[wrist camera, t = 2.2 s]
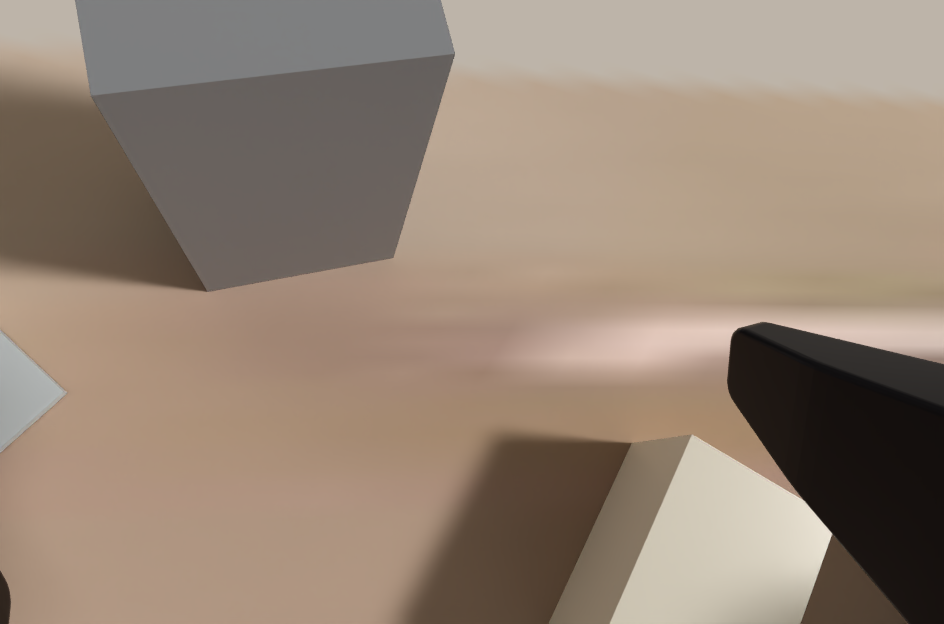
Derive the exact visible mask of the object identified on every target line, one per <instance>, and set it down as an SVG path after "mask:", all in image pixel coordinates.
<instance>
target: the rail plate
mask: <svg viewBox="0 0 944 624" xmlns="http://www.w3.org/2000/svg"><path fill="white" fill-rule="evenodd" d="M66 394H67V392H66V391H65V390H64V389H63V388H62V387H61V386H60V385H59V384H58V383H57V382H55V381H54V380H53V379H52V378H51V377H50V376H49V375H48V374H47V373H46V372H45V371H44V370H43V369H42V368H41V367H40V366H38V365H37V364H36V363H35V362H34V361H33V360H32V359H31V358H30V357H29V356H28V355H27V354H26V353H25V352H24V351H23V350H21V349H20V348H19V347H18V346H17V345H16V344H15V343H14V342H13V341H12V340H11V339H10V338H9V337H8V336H7V335H6V334H4V333H3V332H2V331H1V330H0V453H1V452H2V451H3V450H4V449H5V448H6V447H7V446H9V445H10V444H11V443H12V442H13V441H14V440H15V439H16V438H18V437H19V436H20V435H21V434H22V433H23V432H24V431H25V430H27V429H28V428H29V427H30V426H31V425H32V424H33V423H34V422H36V421H37V420H38V419H39V418H40V417H41V416H42V415H43V414H45V413H46V412H47V411H48V410H49V409H50V408H51V407H52V406H54V405H55V404H56V403H57V402H58V401H59V400H60V399H61V398H63V397H64V396H65V395H66Z"/></svg>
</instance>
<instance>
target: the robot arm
mask: <svg viewBox="0 0 944 624" xmlns="http://www.w3.org/2000/svg"><path fill="white" fill-rule="evenodd" d="M727 384H728V390H729V393H730V396H731V398H732V400H733V401H734V403H735V404H736V406H737V407H738V409H739V410H740V412H741V413H742V414H743V416H744V417H745V419H746V420H747V422H748V423H749V425H750V426H751V428H752V429H753V430H754V432H755V433H756V435H757V436H758V438H759V439H760V441H761V442H762V443H763V445H764V446H765V448H766V449H767V451H768V452H769V454H770V455H771V456H772V458H773V459H774V461H775V462H776V464H777V465H778V467H779V468H780V469H781V471H782V472H783V474H784V475H785V477H786V478H787V479H788V481H789V482H790V483H791V485H792V486H793V487H794V489H795V490H796V491H797V493H798V494H799V495H800V496H801V497H802V499H803V500H804V501H805V502H806V504H807V505H808V506H809V507H810V508H811V510H812V511H813V512H814V513H815V514H816V515H817V517H818V518H819V519H820V520H821V521H822V522H823V524H824V525H825V526H826V527H827V528H828V530H829V531H830V532H831V533H832V534H833V535H834V537H835V538H836V539H837V540H838V541H839V542H840V544H841V545H842V546H843V547H844V548H845V549H846V551H847V552H848V553H849V554H850V555H851V556H852V558H853V559H854V560H855V561H856V562H857V564H858V565H859V566H860V567H861V568H862V569H863V571H864V572H865V573H866V574H867V575H868V576H869V578H870V579H871V580H872V581H873V582H874V583H875V585H876V586H877V587H878V588H879V589H880V590H881V592H882V593H883V594H884V595H885V596H886V598H887V599H888V600H889V601H890V602H891V603H892V605H893V606H894V607H895V608H896V609H897V610H898V612H899V613H900V614H901V615H902V616H903V617H904V619H905V620H906V621H907V622H908V623H909V624H944V364H941V363H936V362H932V361H928V360H924V359H920V358H915V357H911V356H907V355H903V354H899V353H894V352H890V351H886V350H882V349H877V348H873V347H869V346H865V345H861V344H856V343H852V342H848V341H844V340H840V339H835V338H831V337H827V336H823V335H818V334H814V333H810V332H806V331H802V330H797V329H793V328H789V327H785V326H781V325H776V324H772V323H767V322H760V323H757V324H753V325H749V326H745V327H741V328H738V329H737V330H736V331H735V332H734V333H733V335H732V337H731V344H730V355H729V367H728V378H727ZM10 606H11V599H10V591H9V587H8V584H7V582H6V580H5V578H4V576H3V575H2V573H1V571H0V624H9V617H10Z"/></svg>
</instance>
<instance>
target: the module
mask: <svg viewBox="0 0 944 624" xmlns="http://www.w3.org/2000/svg"><path fill="white" fill-rule="evenodd" d="M75 2H76V8H77V14H78V20H79V26H80V32H81V39H82V45H83V51H84V57H85V63H86V69H87V75H88V81H89V87H90V93H91V97H92V98H93V100H94V102H95V103H96V105H97V107H98V109H99V110H100V112H101V114H102V115H103V117H104V119H105V120H106V122H107V124H108V125H109V127H110V129H111V130H112V132H113V134H114V135H115V137H116V139H117V140H118V142H119V144H120V145H121V147H122V149H123V150H124V152H125V154H126V156H127V157H128V159H129V161H130V162H131V164H132V166H133V167H134V169H135V171H136V172H137V174H138V176H139V177H140V179H141V181H142V182H143V184H144V186H145V187H146V189H147V191H148V192H149V194H150V196H151V198H152V199H153V201H154V203H155V204H156V206H157V208H158V209H159V211H160V213H161V214H162V216H163V218H164V219H165V221H166V223H167V224H168V226H169V228H170V229H171V231H172V233H173V234H174V236H175V238H176V239H177V241H178V243H179V245H180V246H181V248H182V250H183V251H184V253H185V255H186V256H187V258H188V260H189V261H190V263H191V265H192V266H193V268H194V270H195V271H196V273H197V275H198V276H199V278H200V280H201V281H202V283H203V285H204V287H205V288H206V290H207V292H209V291H215V290H220V289H226V288H231V287H237V286H242V285H248V284H253V283H259V282H264V281H269V280H275V279H280V278H286V277H291V276H297V275H302V274H308V273H313V272H319V271H324V270H330V269H335V268H341V267H346V266H352V265H357V264H363V263H368V262H373V261H379V260H384V259H390V258H393V257H394V254H395V251H396V247H397V244H398V241H399V237H400V234H401V231H402V228H403V224H404V221H405V218H406V214H407V211H408V208H409V204H410V201H411V198H412V195H413V191H414V188H415V185H416V181H417V178H418V175H419V171H420V168H421V165H422V161H423V158H424V155H425V152H426V148H427V145H428V142H429V138H430V135H431V132H432V128H433V125H434V122H435V119H436V115H437V112H438V109H439V105H440V102H441V99H442V95H443V92H444V89H445V85H446V82H447V79H448V76H449V72H450V69H451V66H452V62H453V59H454V55H455V52H454V48H453V44H452V40H451V37H450V33H449V29H448V25H447V22H446V18H445V14H444V11H443V7H442V3H441V0H75Z"/></svg>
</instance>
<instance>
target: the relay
mask: <svg viewBox="0 0 944 624" xmlns="http://www.w3.org/2000/svg"><path fill="white" fill-rule="evenodd" d="M831 536H832V533H831V532H830V531H829V530H828V528H827V527H826V526H825V525H824V524H823V522H822V521H821V520H820V519H819V518H818V517H817V515H816V514H815V513H814V512H813V511H812V510H811V508H810V507H809V506H808V505H807V504H806V502H805V501H803V500H802V499H800V498H798V497H797V496H795V495H793V494H792V493H790V492H788V491H787V490H785V489H783V488H782V487H780V486H778V485H776V484H775V483H773V482H771V481H770V480H768V479H766V478H765V477H763V476H761V475H760V474H758V473H756V472H755V471H753V470H751V469H749V468H748V467H746V466H744V465H743V464H741V463H739V462H738V461H736V460H734V459H733V458H731V457H729V456H727V455H726V454H724V453H722V452H721V451H719V450H717V449H716V448H714V447H712V446H711V445H709V444H707V443H706V442H704V441H702V440H700V439H699V438H697V437H695V436H694V435H685V436H678V437H671V438H664V439H657V440H650V441H643V442H636V443H632V444H631V446H630V448H629V450H628V452H627V455H626V457H625V459H624V461H623V463H622V465H621V468H620V470H619V472H618V474H617V476H616V478H615V481H614V483H613V485H612V487H611V489H610V491H609V494H608V496H607V498H606V500H605V502H604V504H603V507H602V509H601V511H600V513H599V515H598V517H597V520H596V522H595V524H594V526H593V528H592V530H591V533H590V535H589V537H588V539H587V541H586V543H585V546H584V548H583V550H582V552H581V554H580V556H579V559H578V561H577V563H576V565H575V567H574V569H573V572H572V574H571V576H570V578H569V580H568V582H567V585H566V587H565V589H564V591H563V593H562V595H561V598H560V600H559V602H558V604H557V606H556V608H555V611H554V613H553V615H552V617H551V619H550V621H549V624H801V621H802V618H803V615H804V612H805V609H806V607H807V604H808V601H809V598H810V595H811V592H812V590H813V587H814V584H815V581H816V578H817V575H818V573H819V570H820V567H821V564H822V561H823V558H824V556H825V553H826V550H827V547H828V544H829V542H830V539H831Z"/></svg>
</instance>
